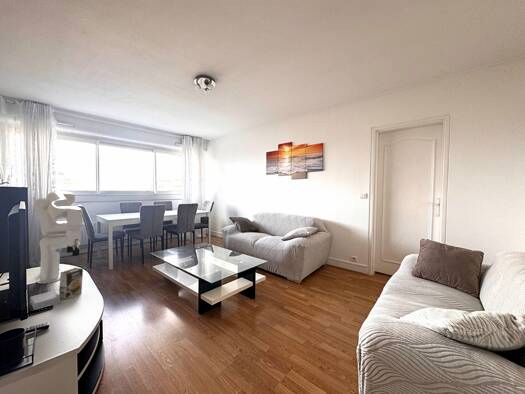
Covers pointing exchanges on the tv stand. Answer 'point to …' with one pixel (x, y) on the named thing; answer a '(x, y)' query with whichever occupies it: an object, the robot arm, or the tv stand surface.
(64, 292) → the coffee box
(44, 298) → the base block
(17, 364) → the tv stand surface
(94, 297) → the tv stand surface
